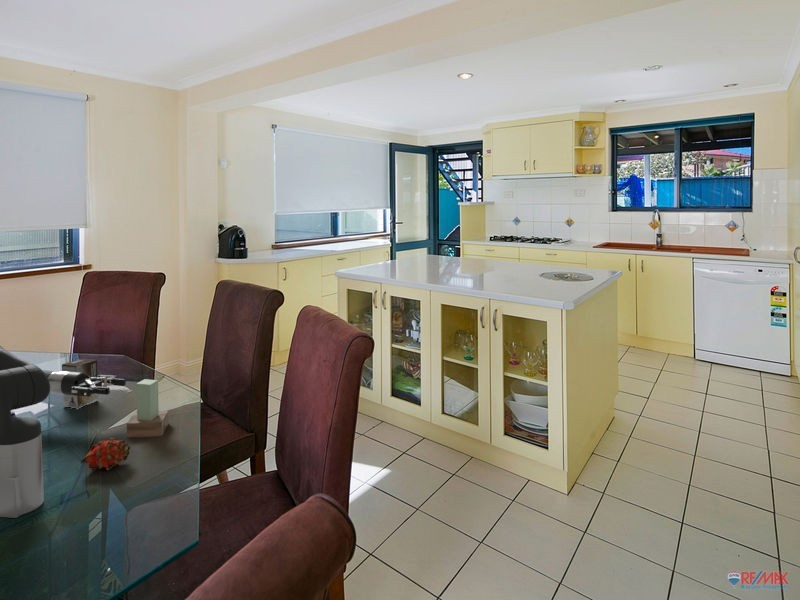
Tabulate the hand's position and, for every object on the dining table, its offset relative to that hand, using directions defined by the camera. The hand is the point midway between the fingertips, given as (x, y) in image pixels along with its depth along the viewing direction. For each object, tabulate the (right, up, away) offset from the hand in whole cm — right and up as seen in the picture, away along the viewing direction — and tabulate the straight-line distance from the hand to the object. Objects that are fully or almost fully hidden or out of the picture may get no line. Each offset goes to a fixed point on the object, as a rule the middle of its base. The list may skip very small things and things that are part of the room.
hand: (117, 386), depth 154 cm
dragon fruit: (+11, -18, -23) cm, 31 cm away
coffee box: (-24, -10, +19) cm, 33 cm away
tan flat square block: (+9, -15, +2) cm, 18 cm away
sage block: (+10, -10, +1) cm, 14 cm away
